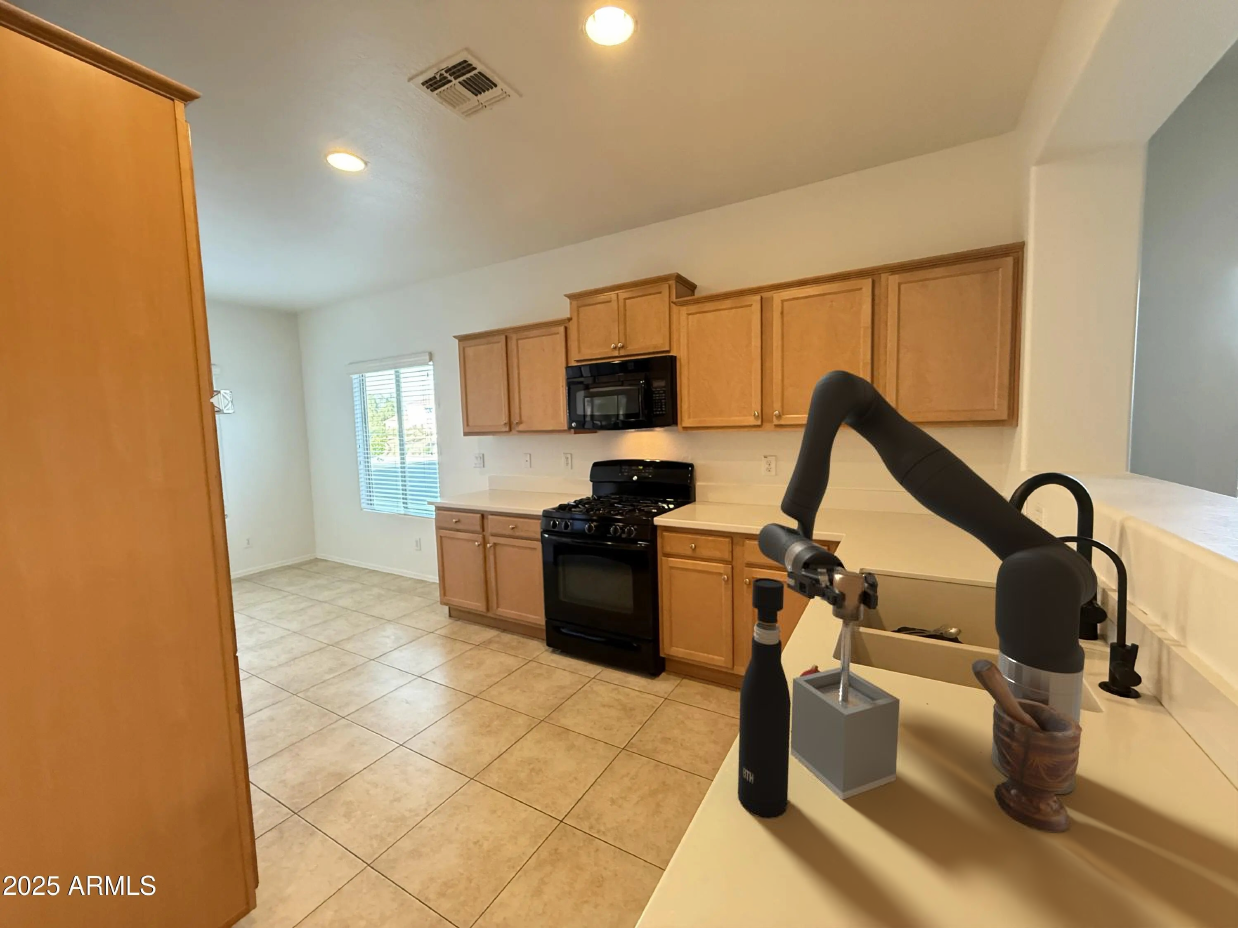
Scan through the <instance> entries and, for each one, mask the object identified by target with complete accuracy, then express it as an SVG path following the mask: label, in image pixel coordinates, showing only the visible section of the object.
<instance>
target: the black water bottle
mask: <svg viewBox="0 0 1238 928" xmlns="http://www.w3.org/2000/svg"><path fill="white" fill-rule="evenodd" d="M784 593H785V585H784V582H783V581H781V580H778V579H775V578H769V577H768V578H766V577H759V578H755V579H753V581H752V594H751V596H752V599H751V600H752V601H751V602H752V603H751V604H752V607H753V608H754V609H756V610H757V613H756V614H757V616H756V623H755V624H754V627H753V631H754V632H753V636H752V638H751V653H750V654H751V657H750V660H749V662H748V665H747V667H746V670H745V672H744V675H743V680H742V683H741V686H740V687H741V688H740V693H739V723H738V725H739V726H738V727H739V728H738V729H739V730H738V731H739V734H738V736H739V737H738V770H737V771H738V772H737V774H738V775H737V776H738V777H737V797H738V801H739V802H740V804H741V806H742V807H743V808H744V809H745V810H746V811H747V812H749V813H751V814H753V816H754V815H755V816H757V817H760V818H764V819H774V818H778V817H780V816H783V814H785V812H786V811H787V808H788V801H789V800H788V799H789V798H788V797H789V794H788V793H789V770H790V768H789V765H790V740H791V731H790V730H791V728H790V727H791V709H792V700H791V695H790V688H789V683H788V679H787V677H786V673H785V670H784V667H783V663H782V648H783V647H782V646H783V645H782V640H781V639H780V638H781V635H780V633H781V630H780V626H779V625H778V622H779V620H778V612H781V611H782V610H784Z"/></svg>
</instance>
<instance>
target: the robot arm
mask: <svg viewBox="0 0 1238 928" xmlns="http://www.w3.org/2000/svg"><path fill="white" fill-rule="evenodd" d="M842 424H845V425H846V426H847V427H849V428H851V429H852V430H853V431H855V432H856V434H859V436H861V437H862V438H863V439H864V440H866V441H867V442H868V443H869V444H870V445H871V446H872V447H873V449H875V450H876V452H877V455H879V457H880V459H881V461H882V462H883V464H884V466H885V468H886V469H887V471H888V472H889V474H890V475H891V476H892V478H894V480H895V481H896V482H897V484H899V485H900V486H901V487H902V488H903V489H904V490H905V491H906V492H907V493H909V495H910V496H911V497H913V498H914V500H916V502H918V503H919V504H920V505H922V506H923V507H924V508H926V509H927V510H928V511H929V512H931V513H933V514H935V515H936V516H938V517H940V518H941V519H942V520H944V521H946V522H948V523H950V524H952V525H953V526H955V527H958V528H959V529H961V530H962V531H964V532H967V533H968V534H970V535H971V536H972V537H973V538H975V539H977V540H978V541H979V542H981V543H982V544H983V545H985V547H987V549H989V550H990V551H991V552H992V553H993V554H994V555H995V556H996V557H997V558H998V559H999V560H1000V561H1001V563H1000V566H999V568H998V571H997V575H996V582H995V598H994V599H995V600H994V602H995V603H994V604H995V605H994V606H995V607H994V627H995V632H996V634H997V636H998V657H997V668H998V669H999V670H1000V672H1001V673H1002V675H1003V677H1004V678H1005V680H1006V682H1007V684H1008V686H1009V688H1010V690H1011V692H1012V694H1013V696H1014V698H1017V699H1023V700H1029V701H1033V702H1038V703H1041V704H1044V705H1046V706H1049V707H1053V708H1055V709H1056V710H1058V711H1060V712H1063V713H1065V714H1067V715H1068V716H1070V717H1071V718H1073V719H1074V720H1075V721H1076V722H1077V723H1078V724H1079V725H1080V723H1081V722H1080V721H1081V709H1082V699H1083V698H1082V695H1083V683H1084V682H1083V681H1084V672H1085V671H1084V670H1085V659H1086V658H1085V657H1086V652H1085V649H1084V648H1083V646H1082V645H1081V644H1080V637H1079V636H1080V620H1081V619H1080V617H1081V609H1082V608H1081V607H1082V605H1084V604H1085V605H1086V603H1088V602H1089V601H1091V600H1092V598H1093V597H1094V596H1095V595H1096V592H1097V590H1098V584H1099V583H1098V576H1097V574H1096V571H1095V568H1093V566H1092V564H1091V563H1090V562H1089V561H1088V560H1087V558H1086V557H1084V555H1082V554H1081V553H1080V552H1078V551H1077V550H1075V549H1074V548H1073V547H1072V546H1070V545H1068V544H1067V543H1066V542H1064V541H1062V540H1061V539H1060V538H1058V537H1057V536H1055V535H1054V534H1052V533H1050V531H1048V530H1046V529H1045V528H1044V527H1042V526H1040V525H1039V524H1037V523H1036V522H1035V521H1033V520H1032V519H1030V518H1029V517H1028V516H1026V515H1025V514H1023V513H1022V512H1021V511H1020V510H1018V509H1017V508H1016V507H1015V506H1013V504H1012V503H1011V502H1009V501H1008V500H1007V499H1006V498H1005V496H1003V495H1002V494H1001V493H1000V492H998V491H997V490H996V489H995V488H994V487H993V486H992V485H990V484H989V483H988V482H987V481H986V480H985V479H983V478H982V477H981V476H980V475H979V474H977V473H976V472H975V471H974V470H973V469H972V468H971V467H970V466H969V465H968V464H967V463H966V462H964V461H963V460H962V459H960V458H959V457H958V456H957V455H956V454H955V453H954V452H953V451H951V450H950V449H949V448H947V446H945V445H943V444H942V443H941V442H940V441H938V440H936V439H935V438H934V437H933V436H932V435H930V434H929V433H927V432H926V431H925V430H923V429H922V428H921V427H919V426H917V425H916V424H914V423H913V422H911V421H910V420H908V419H907V418H906V417H904V416H903V415H902V414H900V413H899V412H898V410H896V408H895V407H893V406H892V405H891V403H890V402H889V401H888V400H887V399H885V397H884V396H883V395H882V394H881V393H880V391H878V389H877V388H876V387H875V386H874V385H873V384H872V383H871V382H869V381H868V380H867V379H865V378H863V377H862V376H861V377H860V376H858V375H856V374H854V373H851V372H849V371H846V370H841V369H837V370H832V371H829V372H827V373H825V374H824V375H822V376H821V378H819V380H818V381H817V382H816V384H815V386H814V389H813V392H812V394H811V399H810V402H809V407H808V411H807V419H806V423H805V427H804V432H803V436H802V440H801V445H800V448H799V453H798V457H797V460H796V464H795V467H794V469H793V472H792V475H791V477H790V479H789V482H788V484H787V486H786V487H787V488H786V490H785V493H784V496H783V498H782V500H781V503H780V510H781V512H782V513H783V514H784V515H786V516H787V517H789V518H791V519H793V520H794V521H796V522H797V527H796V528H792V527H789V526H786V525H783V524H781V523H780V524H779V523H775V522H771V523H767V524H766V525H764V526H763V527H762V528H761V529H760V531H759V533H758V536H757V546H758V548H759V551H760V552H761V554H762V555H763V556H764V557H766V558H767V559H769V560H771V561H772V562H775V563H777V564H779V565H780V566H783V567H784V568H785V569H786V570H787V572H786V588H788V589H789V590H792V591H793V592H795V593H796V594H798V595H801V596H803V597H804V598H806V599H809V600H815V598H816V597H818V598H819V600H821V601H822V602H823V601H824V602H826V603H827V604H828V605H830V606H834V607H835V608H836V609H842V601H843V596H842V593H840V592H839V591H838V590H837V589H835V588H834V587H833V579H834V572H836V571H848V569H846V567H845V565H844V563H843V562H842V560H841V559H840V558H839V557H838V556H837V555H836V554H834V553H832V552H831V551H829V550H828V549H826V548H825V547H823V546H822V545H820V544H819V543H816V542H813V539H814V528H815V523H816V517H817V514H818V512H819V509H820V506H821V505H822V501H823V499H824V497H825V494H826V491H827V488H828V484H829V480H830V473H831V470H830V469H831V456H832V451H833V445H834V442H835V438H836V436H837V433H838V432H839V429H840V428H841V425H842ZM863 575H864V600H863V606H865V607H866V608H867V609H869V610H876V609H877V607H878V605H879V604H878V603H879V594H878V587H879V583H878V580H877V578H876V575H875V573H872V572H870V571H869V572H865V574H863ZM994 701H995V700H994ZM995 702H996V701H995ZM995 702H994V703H995ZM991 742H992V743H991V745H992V746H991V761H992V763H993V765H994V766H995V767H996V768H997V769H998V771H1000V772H1001V773H1003V775H1005V776H1007V777H1008V778H1009V779H1010V776H1009V774H1008V773H1007V772H1006V771H1005V770H1004V769H1003V768H1002V767H1001V765H1000V763H999V760H998V751H997V748H996V746H995V742H994V738H993V737H992V741H991ZM1075 779H1076V774H1075V775H1074V776H1073V778H1072V779H1071V780H1070V784H1069V785H1068V786H1067V787H1066V788H1065V789H1064V790H1061V791H1058V792H1055V793H1054V795H1066V794H1069V793H1071V792H1073V790H1075V781H1076V780H1075Z"/></svg>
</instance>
